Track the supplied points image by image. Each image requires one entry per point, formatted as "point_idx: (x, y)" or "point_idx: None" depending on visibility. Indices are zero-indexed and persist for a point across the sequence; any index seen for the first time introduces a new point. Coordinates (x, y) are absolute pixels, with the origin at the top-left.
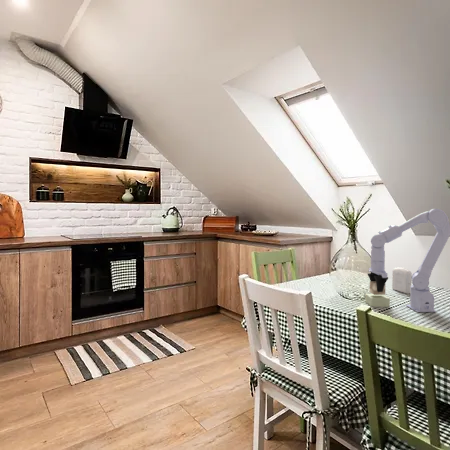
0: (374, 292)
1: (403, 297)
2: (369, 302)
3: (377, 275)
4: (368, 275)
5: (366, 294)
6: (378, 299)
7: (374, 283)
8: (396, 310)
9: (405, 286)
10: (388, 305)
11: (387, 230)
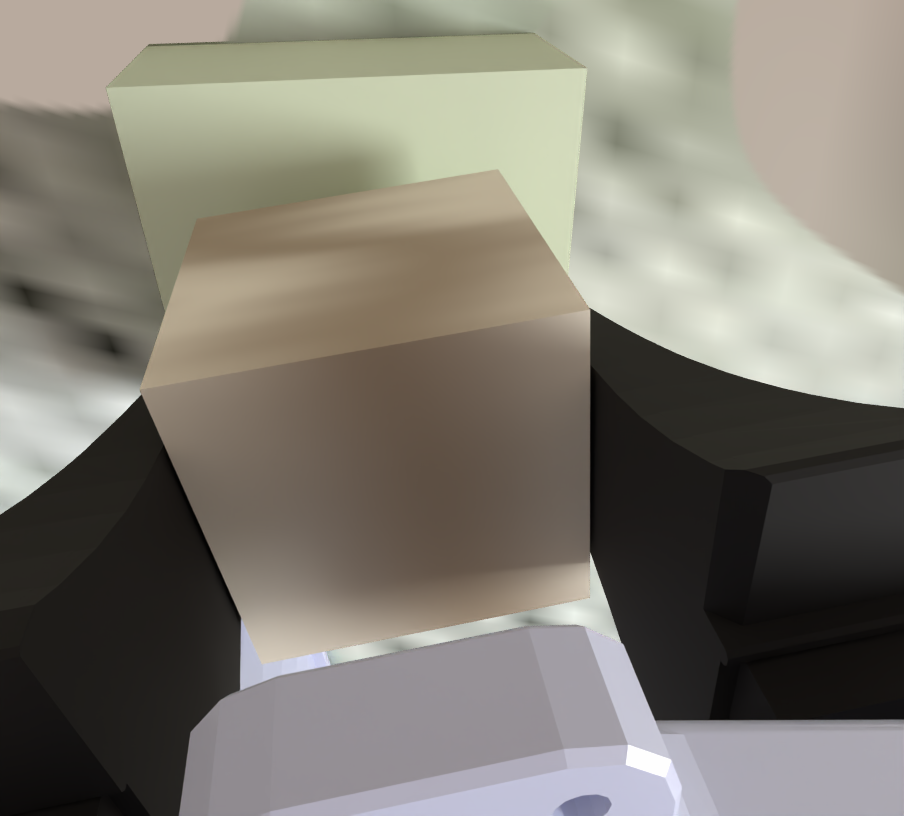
0: (191, 246)
1: None
2: (256, 53)
3: (669, 709)
4: (849, 420)
5: (513, 74)
6: (156, 258)
7: (220, 400)
8: (10, 424)
9: None
10: None
11: None
